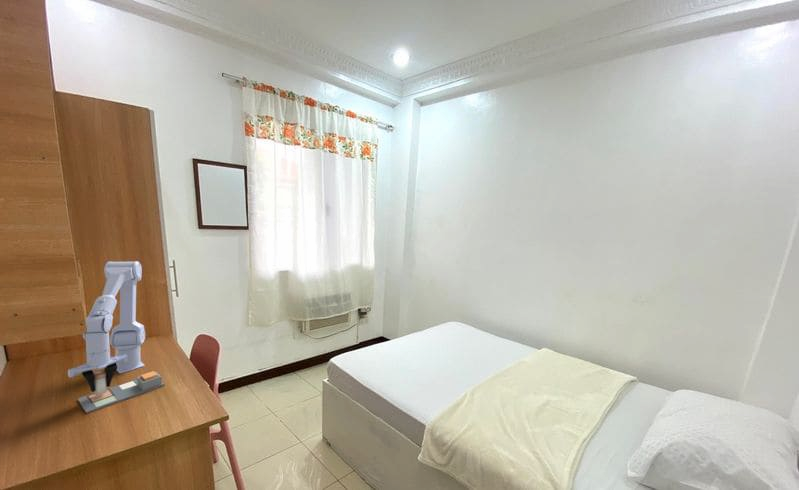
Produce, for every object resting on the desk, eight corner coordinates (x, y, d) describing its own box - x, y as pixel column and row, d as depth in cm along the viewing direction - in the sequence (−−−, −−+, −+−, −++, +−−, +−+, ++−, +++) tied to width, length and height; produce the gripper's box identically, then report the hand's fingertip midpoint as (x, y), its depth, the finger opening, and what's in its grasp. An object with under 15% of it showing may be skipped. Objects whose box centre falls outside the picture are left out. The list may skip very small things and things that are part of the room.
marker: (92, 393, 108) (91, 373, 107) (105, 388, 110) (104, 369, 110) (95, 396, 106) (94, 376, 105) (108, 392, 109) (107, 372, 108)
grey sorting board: (77, 400, 106) (77, 390, 106) (153, 375, 123) (153, 366, 123) (86, 413, 100) (85, 403, 100) (164, 385, 117) (164, 376, 117)
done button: (141, 381, 116) (140, 375, 115) (153, 377, 119) (153, 371, 118) (144, 384, 113) (144, 378, 113) (157, 380, 117) (157, 374, 116)
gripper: (70, 361, 98) (73, 402, 100) (129, 346, 110) (131, 383, 112) (65, 355, 102) (68, 394, 104) (123, 341, 114) (124, 376, 116)
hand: (100, 388), depth 108 cm, fingers closed on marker, 3 cm apart
